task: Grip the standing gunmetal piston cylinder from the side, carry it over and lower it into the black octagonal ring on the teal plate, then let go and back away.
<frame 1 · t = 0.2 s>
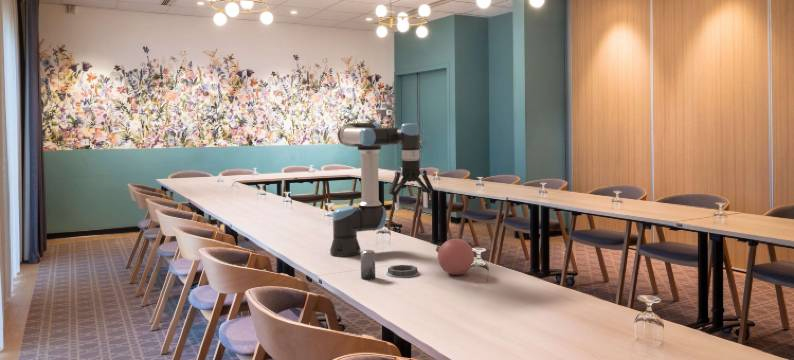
hand: (411, 208, 267), 28 cm above the table, tool pointing down, fingers open, 13 cm apart
ring plate: (402, 273, 266), on the table
piston: (368, 278, 260), on the table
terracotta rubber ball: (452, 273, 265), on the table
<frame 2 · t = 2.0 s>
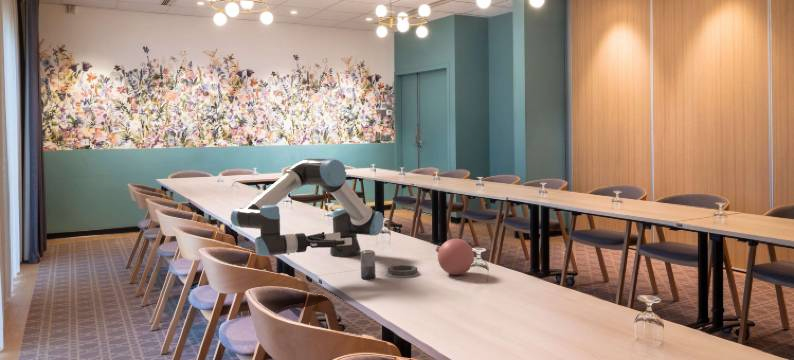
hand: (345, 238, 254), 18 cm above the table, tool horizontal, fingers open, 13 cm apart
nothing on the table moved.
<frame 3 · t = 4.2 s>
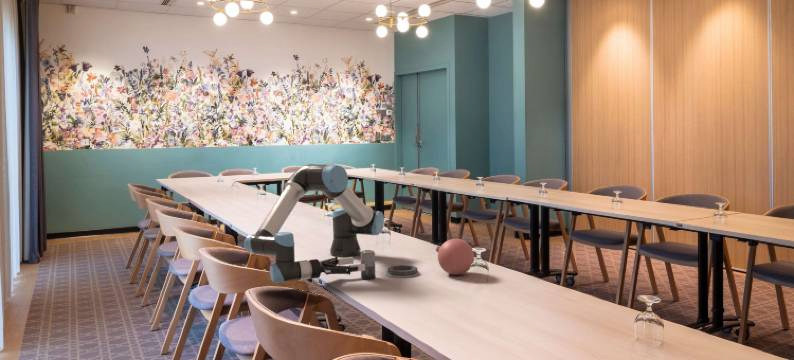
hand: (358, 263, 257), 7 cm above the table, tool horizontal, fingers open, 13 cm apart
nothing on the table moved.
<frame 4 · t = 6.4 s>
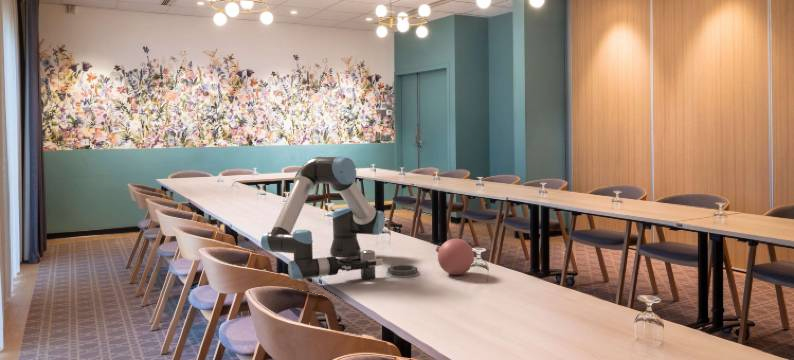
hand: (379, 260, 261), 7 cm above the table, tool horizontal, fingers closed on piston, 6 cm apart
piston: (368, 278, 260), on the table, touching gripper
everything else where it was.
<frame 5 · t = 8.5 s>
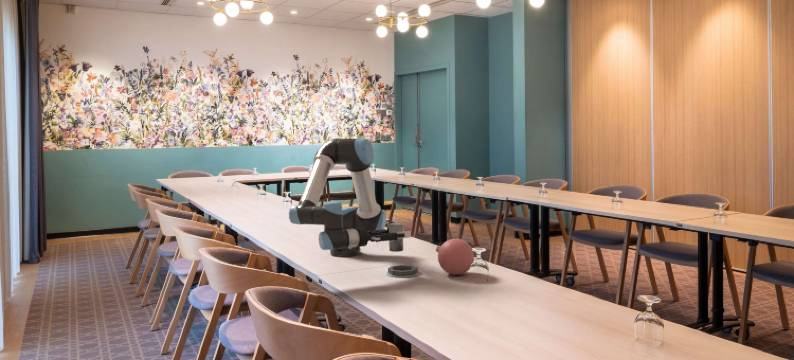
hand: (407, 232, 265), 18 cm above the table, tool horizontal, fingers closed on piston, 6 cm apart
piston: (396, 250, 264), point 11 cm above the table, touching gripper
everything else where it was.
when the fingers open (8 cm above the table, at t = 10.9 s): piston drops 1 cm, resting on ring plate.
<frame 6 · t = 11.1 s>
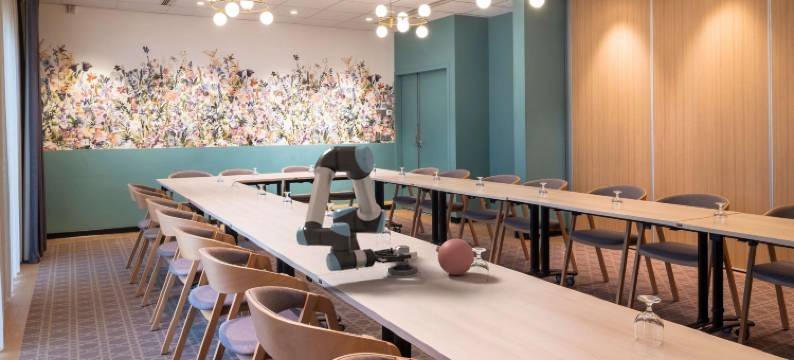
hand: (412, 253, 268), 8 cm above the table, tool horizontal, fingers open, 9 cm apart
piston: (402, 272, 266), resting on ring plate
everything else where it was.
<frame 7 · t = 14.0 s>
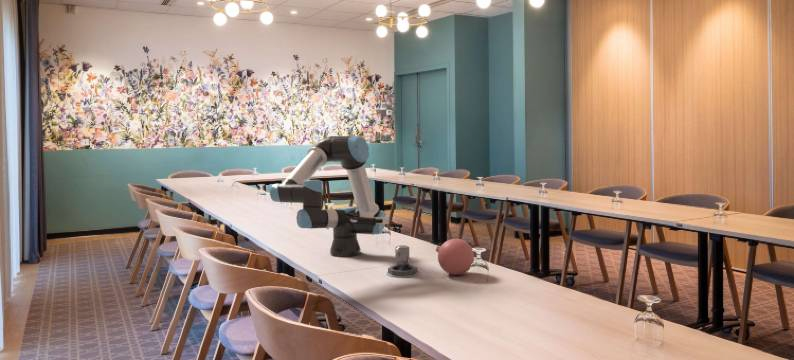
hand: (380, 218, 262), 25 cm above the table, tool horizontal, fingers open, 13 cm apart
nothing on the table moved.
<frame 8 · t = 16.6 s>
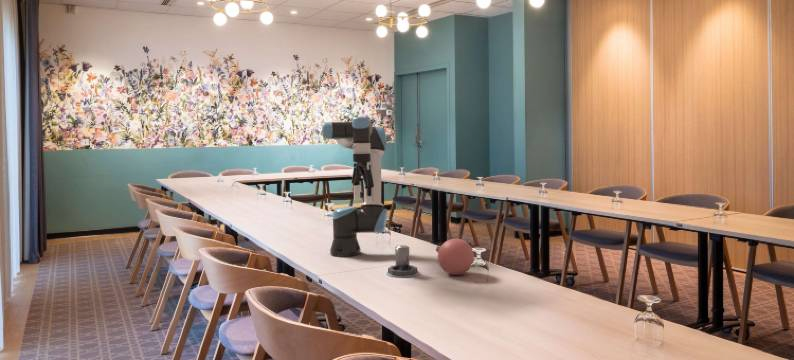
hand: (362, 201, 269), 31 cm above the table, tool pointing down, fingers open, 13 cm apart
nothing on the table moved.
at the end: piston 0.0 cm from the ring plate (horizontally); piston resting on ring plate; piston tilted 0° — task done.
